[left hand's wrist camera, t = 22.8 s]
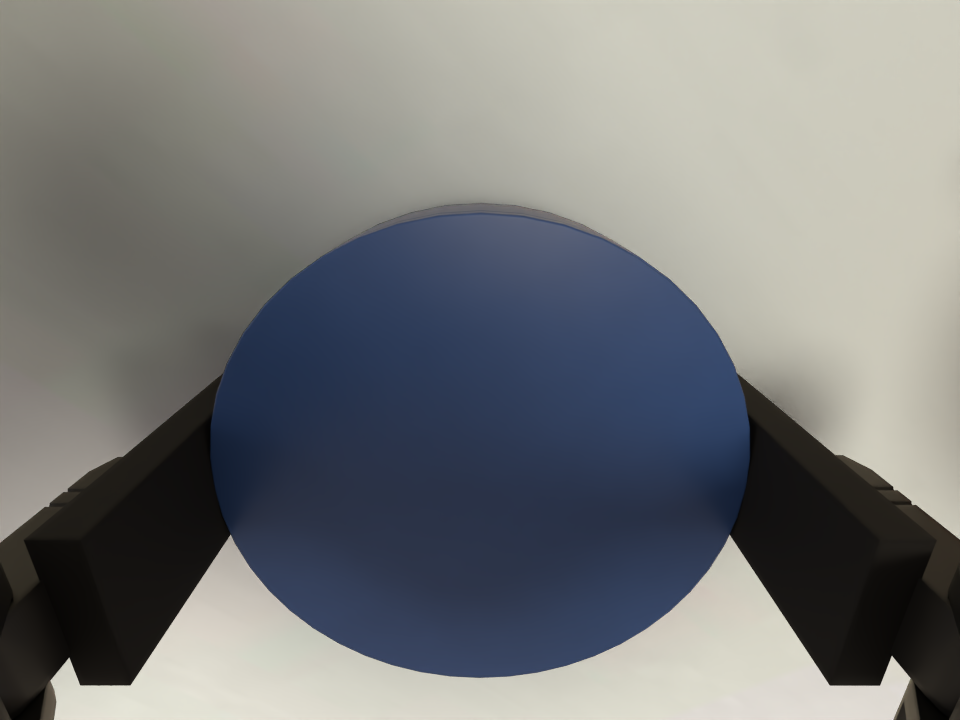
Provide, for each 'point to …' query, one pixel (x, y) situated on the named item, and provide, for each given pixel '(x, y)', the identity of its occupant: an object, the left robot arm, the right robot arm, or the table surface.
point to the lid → (480, 443)
